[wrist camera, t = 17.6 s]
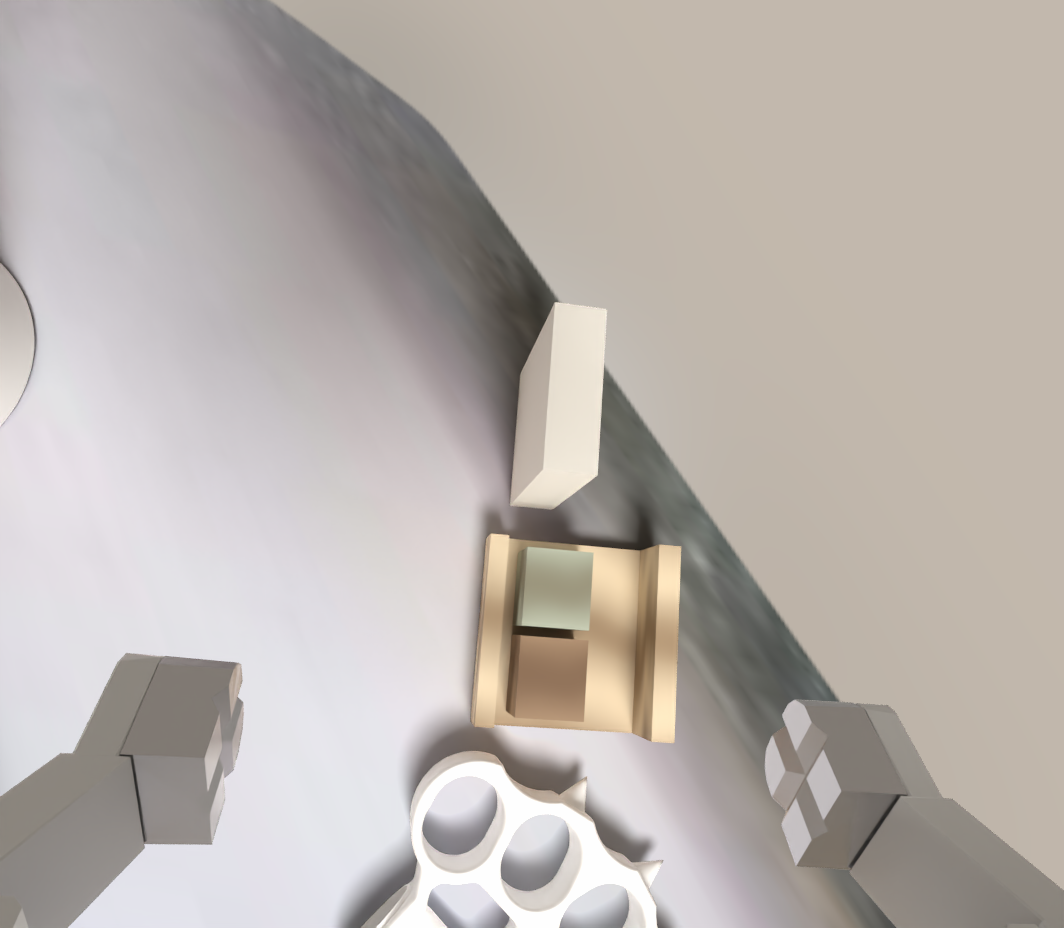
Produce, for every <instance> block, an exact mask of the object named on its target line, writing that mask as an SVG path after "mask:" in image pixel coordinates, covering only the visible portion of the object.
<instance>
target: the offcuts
mask: <svg viewBox="0 0 1064 928" xmlns="http://www.w3.org/2000/svg"><path fill="white" fill-rule="evenodd" d="M593 555H594V553H591V552H580V551H570V550H559V549H548V548H537V547H526V548H525V549H523V550H522V551H520V552H518V559H517V572H516V585H515V598H514V611H513V624H512V626H524V627H537V628H550V629H563V630H584V631H589V624H590V607H591V589H592V572H593ZM588 642H589V641H588V640H575V639H562V638H549V637H536V636H522V635H512V637H511V650H510V663H509V676H508V688H507V701H506V711H507V712H508V713H509V714H511V715H512V716H513V717H514V718H526V719H542V720H559V721H575V722H584V711H585V694H586V676H587V659H588Z"/></svg>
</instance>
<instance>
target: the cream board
mask: <svg viewBox="0 0 1064 928" xmlns="http://www.w3.org/2000/svg"><path fill="white" fill-rule="evenodd" d="M606 318H607V309H602V308H594V307H588V306H580V305H573V304H565V303H558V302H555V303H554V305H553V307H552V309H551V312H550V314H549V316H548V318H547V320H546V322H545V324H544V326H543V328H542V330H541V332H540V334H539V336H538V338H537V340H536V343H535V345H534V347H533V349H532V351H531V353H530V355H529V357H528V359H527V361H526V363H525V365H524V367H523V369H522V372H521V374H520V384H519V397H518V409H517V422H516V434H515V447H514V459H513V472H512V484H511V497H510V506H519V507H529V508H539V509H549V510H553V509H554V508H555V507H557V506H558V505H559V504H560V503H562V502H563V501H564V500H566V499H567V498H568V497H570V496H571V495H572V494H574V493H575V492H576V491H577V490H579V489H580V488H581V487H583V486H584V485H585V484H587V483H588V482H589V481H591V480H592V479H593V478H594V477H596V476H597V475H598V459H599V441H600V424H601V406H602V389H603V371H604V353H605V336H606Z"/></svg>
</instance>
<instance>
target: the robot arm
mask: <svg viewBox="0 0 1064 928" xmlns="http://www.w3.org/2000/svg"><path fill="white" fill-rule="evenodd" d="M33 357H34V327H33V321H32V317H31V313H30V309H29V306H28V304H27V301H26V299H25V297H24V294H23V292H22V291H21V289H20V287H19V285H18V284H17V282H16V281H15V279H14V278H13V277H12V275H11V274H10V273H9V272H8V270H7V269H6V268H5V267H4V266H3V265H2V264H1V263H0V426H1V425H2V424H3V423H4V421H5V420H6V419H7V418H8V416H9V415H10V414H11V412H12V411H13V409H14V408H15V406H16V404H17V403H18V401H19V399H20V397H21V395H22V393H23V391H24V389H25V386H26V384H27V381H28V378H29V375H30V372H31V368H32V363H33ZM241 684H242V669H241V664H240V663H235V662H224V661H214V660H203V659H192V658H181V657H170V656H155V655H143V654H131V653H126V654H125V655H124V656H123V657H122V658H121V659H120V660H119V661H118V662H117V664H116V666H115V668H114V670H113V672H112V674H111V677H110V679H109V681H108V683H107V685H106V687H105V689H104V691H103V693H102V695H101V697H100V699H99V701H98V703H97V705H96V707H95V709H94V711H93V713H92V715H91V717H90V719H89V721H88V723H87V725H86V727H85V729H84V731H83V733H82V735H81V737H80V739H79V741H78V743H77V745H76V748H75V750H74V752H73V753H60V754H59V755H57V756H56V757H55V758H53V759H52V760H50V761H49V762H48V763H46V764H45V765H43V766H42V767H41V768H39V769H38V770H36V771H35V772H34V773H32V774H31V775H30V776H28V777H27V778H25V779H24V780H23V781H21V782H20V783H18V784H17V785H16V786H14V787H13V788H11V789H10V790H9V791H7V792H6V793H5V794H3V795H2V796H0V928H68V927H69V926H70V925H71V924H72V923H73V922H74V920H75V919H76V918H77V917H78V916H79V915H80V914H81V913H82V912H83V911H84V910H85V909H86V908H87V907H88V906H89V905H90V904H91V903H92V902H93V901H94V900H95V899H96V898H97V897H98V896H99V895H100V894H101V893H102V892H103V891H104V890H105V888H106V887H107V886H108V885H109V884H110V883H111V882H112V881H113V880H114V879H115V878H116V877H117V876H118V875H119V874H120V873H121V872H122V871H123V870H124V869H125V868H126V867H127V866H128V865H129V864H130V863H131V862H132V861H133V860H134V859H135V858H136V856H137V855H138V854H139V853H140V852H141V851H142V850H143V849H144V848H145V846H144V844H210V845H212V842H213V839H214V835H215V832H216V829H217V825H218V822H219V818H220V815H221V812H222V808H223V805H224V801H225V788H224V778H225V777H226V776H228V775H229V774H230V773H231V772H232V771H233V770H234V767H235V763H236V759H237V756H238V752H239V746H240V741H241V735H242V730H243V716H244V711H243V702H242V701H241V700H240V699H239V698H238V694H239V690H240V687H241ZM782 717H783V719H784V722H785V725H786V726H785V727H784V728H782V729H781V730H779V731H778V732H776V733H775V734H773V735H772V737H771V739H770V742H769V744H768V746H767V749H766V757H765V773H766V779H767V784H768V787H769V790H770V793H771V796H772V798H773V799H774V800H775V801H776V802H777V803H778V804H779V805H780V806H781V807H782V808H784V809H785V810H786V813H785V816H784V818H783V821H782V824H781V825H782V828H783V831H784V834H785V836H786V839H787V842H788V845H789V848H790V851H791V853H792V856H793V859H794V862H795V865H796V866H800V867H815V868H830V869H845V870H851V871H850V872H849V873H850V874H851V875H852V877H853V878H854V879H855V880H856V881H857V882H858V884H859V885H860V886H861V887H862V888H863V889H864V891H865V892H866V893H867V894H868V895H869V896H870V898H871V899H872V900H873V901H874V902H875V903H876V904H877V906H878V907H879V908H880V909H881V910H882V911H883V913H884V914H885V915H886V916H887V917H888V918H889V920H890V921H891V922H892V923H893V924H894V925H895V927H896V928H1064V890H1063V889H1061V888H1060V887H1059V886H1058V885H1056V884H1055V883H1054V882H1053V881H1052V880H1050V879H1049V878H1048V877H1047V876H1045V875H1044V874H1043V873H1042V872H1041V871H1039V870H1038V869H1037V868H1036V867H1034V866H1033V865H1032V864H1031V863H1029V862H1028V861H1027V860H1026V859H1025V858H1024V857H1022V856H1021V855H1020V854H1019V853H1017V852H1016V851H1015V850H1014V849H1013V848H1011V847H1010V846H1009V845H1008V844H1007V843H1005V842H1004V841H1003V840H1001V839H1000V838H999V837H998V836H997V835H996V834H994V833H993V832H992V831H991V830H989V829H988V828H987V827H986V826H985V825H983V824H982V823H981V822H980V821H978V820H977V819H976V818H975V817H974V816H972V815H971V814H970V813H969V812H967V811H966V810H965V809H964V808H963V807H961V806H960V805H959V804H958V803H957V802H955V801H954V800H953V799H949V798H943V797H942V796H941V794H940V792H939V790H938V788H937V786H936V785H935V783H934V781H933V779H932V777H931V776H930V774H929V772H928V770H927V769H926V766H925V765H924V763H923V761H922V759H921V757H920V756H919V754H918V752H917V750H916V748H915V746H914V745H913V743H912V741H911V739H910V737H909V736H908V734H907V732H906V730H905V728H904V726H903V725H902V723H901V721H900V719H899V718H898V716H897V714H896V712H895V711H894V710H893V709H892V708H890V707H889V706H888V705H874V704H854V703H848V702H830V701H812V700H794V701H792V702H791V703H789V704H788V705H787V707H786V709H785V711H784V713H783V715H782Z"/></svg>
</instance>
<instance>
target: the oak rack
mask: <svg viewBox="0 0 1064 928" xmlns="http://www.w3.org/2000/svg"><path fill="white" fill-rule="evenodd" d="M526 547H537V548H548V549H559V550H570V551H580V552H591V553H594V555H593V572H592V589H591V607H590V624H589V631H584V630H563V629H550V628H537V627H524V626H512V624H513V611H514V598H515V585H516V572H517V559H518V552H520V551H522V550H523V549H525V548H526ZM680 563H681V547H680V546H669V545H657V546H654V547H650V548H647V549H644V550H641V551H638V550H627V549H616V548H605V547H595V546H584V545H573V544H562V543H552V542H541V541H530V540H519V539H509V535H501V534H490V535H489V536H488V537H487V538H486V547H485V558H484V570H483V581H482V593H481V605H480V616H479V628H478V640H477V651H476V663H475V674H474V686H473V698H472V709H471V723H472V724H473V725H474V727H487V728H494V725H506V726H523V727H540V728H557V729H574V730H590V731H607V732H624V733H633V734H635V735H638V736H640V737H642V738H644V739H647V740H649V741H651V742H665V743H674V737H675V708H676V679H677V650H678V621H679V592H680ZM512 635H522V636H536V637H549V638H562V639H575V640H588V641H589V642H588V659H587V676H586V694H585V711H584V722H575V721H559V720H542V719H526V718H514V717H513V716H512V715H511V714H509V713H508V712H507V711H506V701H507V688H508V676H509V663H510V650H511V637H512Z"/></svg>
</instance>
